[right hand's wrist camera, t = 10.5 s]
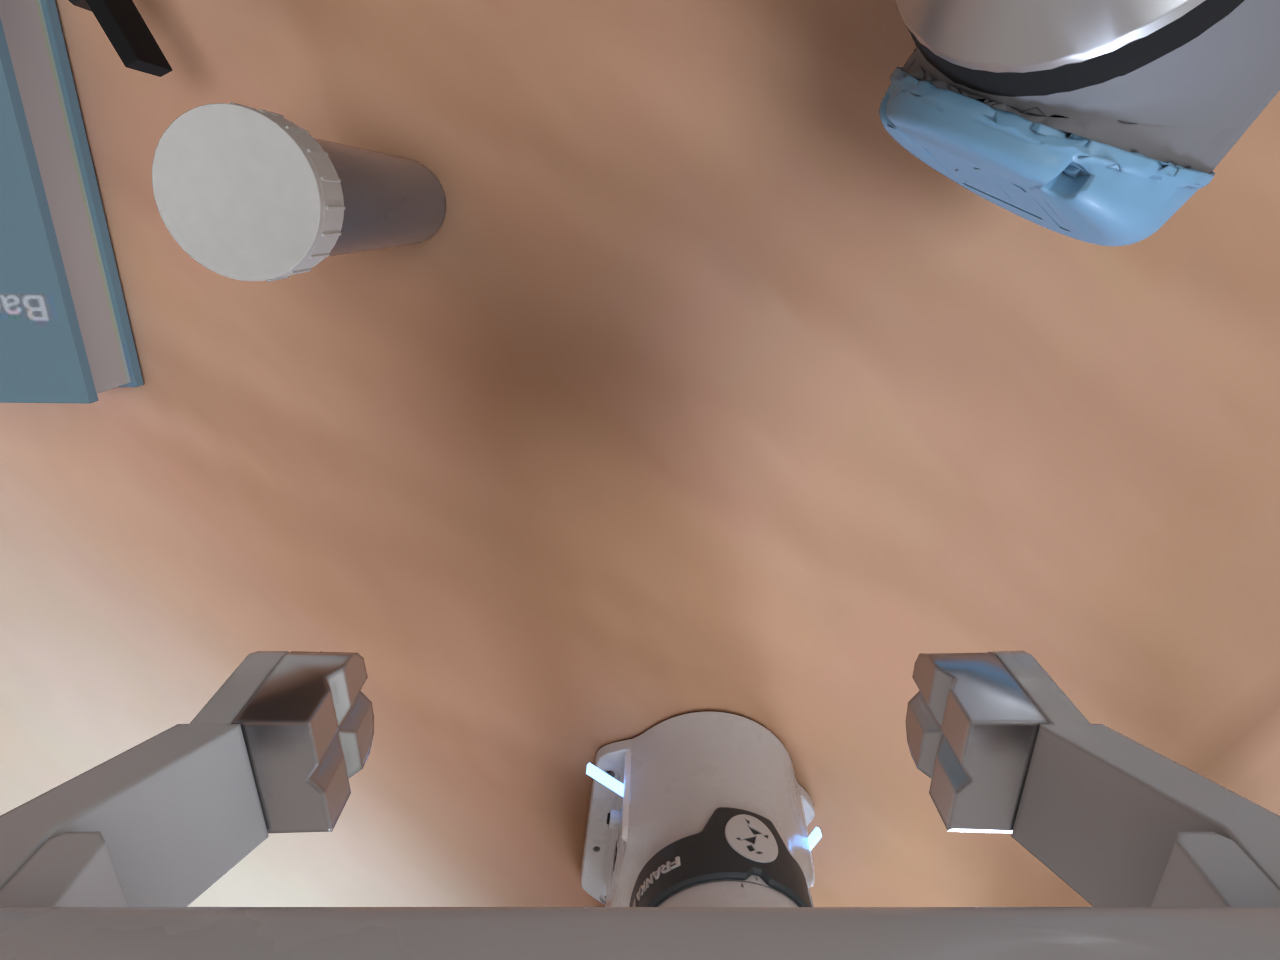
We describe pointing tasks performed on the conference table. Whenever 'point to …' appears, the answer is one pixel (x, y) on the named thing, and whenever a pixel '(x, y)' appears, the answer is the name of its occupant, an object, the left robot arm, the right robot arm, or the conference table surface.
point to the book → (52, 229)
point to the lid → (247, 192)
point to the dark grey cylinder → (384, 199)
